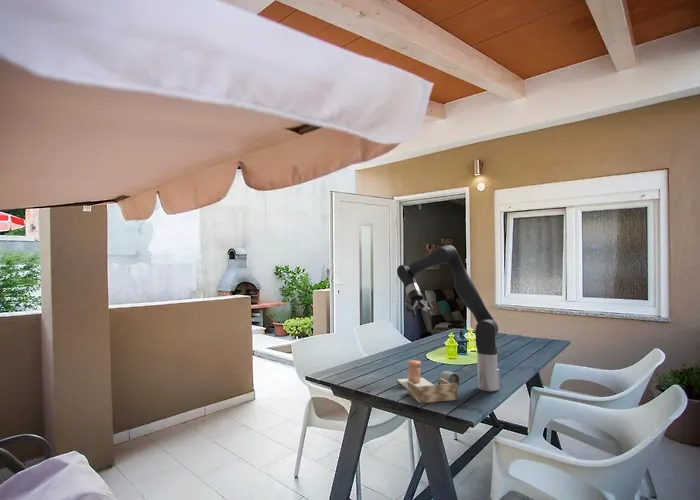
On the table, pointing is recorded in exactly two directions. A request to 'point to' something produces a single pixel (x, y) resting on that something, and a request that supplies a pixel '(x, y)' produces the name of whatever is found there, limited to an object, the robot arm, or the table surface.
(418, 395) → the wooden frame
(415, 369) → the tan round-topped cylinder
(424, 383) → the stone tile
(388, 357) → the table surface
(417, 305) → the robot arm
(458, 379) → the ceramic mug
